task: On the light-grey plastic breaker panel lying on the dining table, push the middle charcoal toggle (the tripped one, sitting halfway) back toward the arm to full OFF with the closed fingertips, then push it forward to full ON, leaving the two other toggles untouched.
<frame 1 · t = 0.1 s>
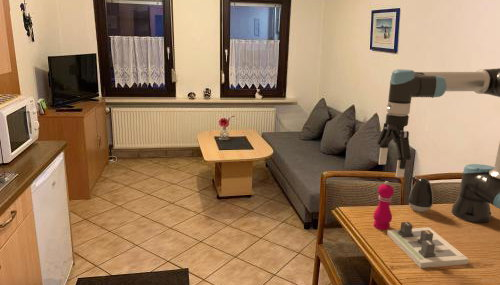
hand: (390, 170, 146), 28 cm above the table, fingers open, 13 cm apart
breaker c: (427, 248, 138), point 5 cm above the table, slide at 4.0 cm
panel: (424, 248, 147), on the table
breaker tripped: (426, 237, 146), point 5 cm above the table, slide at 0.0 cm
black glossy egg shape: (418, 210, 179), on the table
breaker a: (406, 229, 152), point 5 cm above the table, slide at 4.0 cm
pepper mill: (381, 227, 163), on the table
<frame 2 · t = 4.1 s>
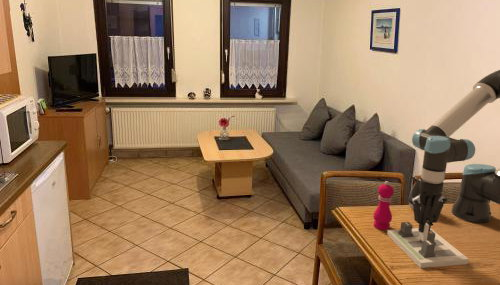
hand: (422, 239, 146), 4 cm above the table, fingers closed
breaker tripped: (428, 237, 146), point 5 cm above the table, slide at -0.9 cm, touching gripper
everything else where it was.
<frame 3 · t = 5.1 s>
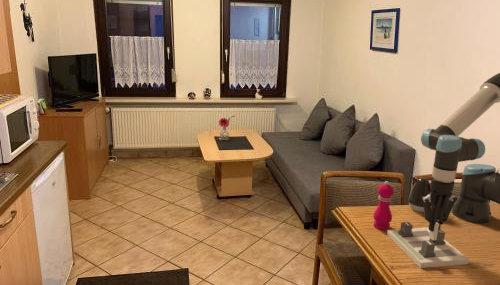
hand: (432, 238, 146), 4 cm above the table, fingers closed
breaker tripped: (438, 236, 146), point 5 cm above the table, slide at -4.8 cm, touching gripper
everything else where it was.
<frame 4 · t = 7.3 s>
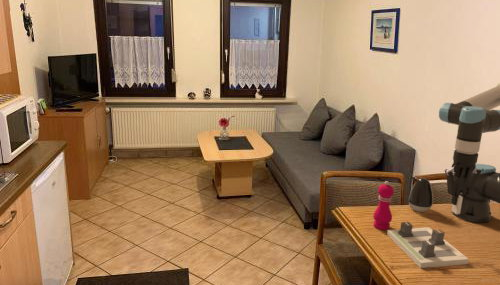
hand: (455, 212, 145), 14 cm above the table, fingers closed
breaker tripped: (437, 236, 146), point 5 cm above the table, slide at -4.6 cm
everything else where it was.
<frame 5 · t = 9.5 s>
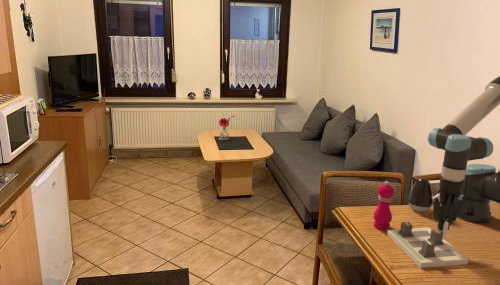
hand: (441, 237, 147), 4 cm above the table, fingers closed
breaker tripped: (436, 236, 146), point 5 cm above the table, slide at -4.0 cm, touching gripper
everything else where it was.
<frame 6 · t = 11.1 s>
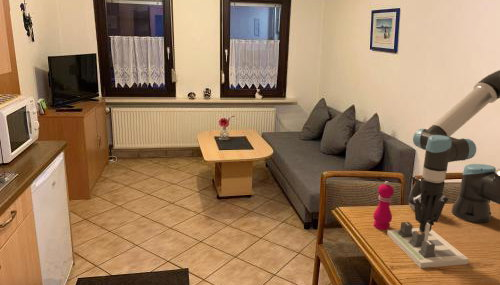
hand: (423, 239, 146), 4 cm above the table, fingers closed
breaker tripped: (418, 238, 145), point 5 cm above the table, slide at 3.3 cm, touching gripper
everything else where it was.
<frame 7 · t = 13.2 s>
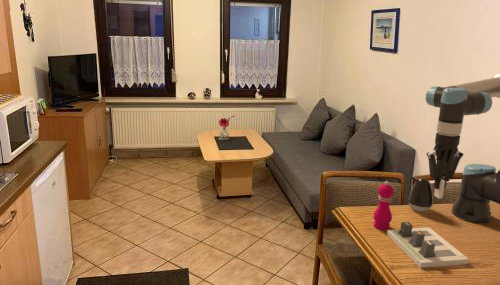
hand: (438, 196, 142), 20 cm above the table, fingers closed
breaker tripped: (418, 238, 145), point 5 cm above the table, slide at 3.4 cm
everything else where it was.
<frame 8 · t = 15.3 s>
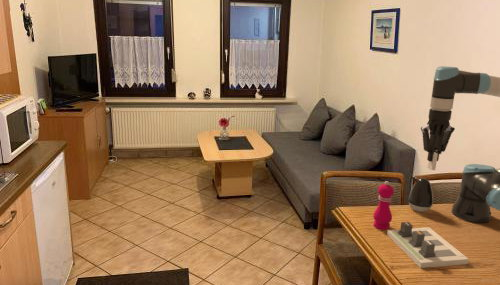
hand: (431, 168, 153), 26 cm above the table, fingers closed
nothing on the table moved.
at the end: breaker tripped slide at 3.4 cm; breaker a slide at 4.0 cm; breaker c slide at 4.0 cm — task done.
